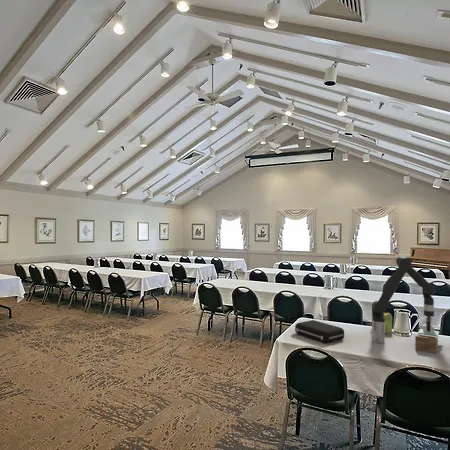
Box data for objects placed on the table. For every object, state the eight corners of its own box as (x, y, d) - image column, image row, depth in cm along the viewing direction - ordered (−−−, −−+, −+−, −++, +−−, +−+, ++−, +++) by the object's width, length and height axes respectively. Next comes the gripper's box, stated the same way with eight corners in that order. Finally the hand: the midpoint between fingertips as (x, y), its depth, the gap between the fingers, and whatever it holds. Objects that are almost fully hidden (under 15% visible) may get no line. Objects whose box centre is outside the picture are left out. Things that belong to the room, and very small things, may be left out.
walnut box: (436, 353, 266) (436, 339, 266) (415, 349, 274) (415, 336, 274) (437, 347, 279) (437, 334, 279) (417, 344, 287) (417, 331, 287)
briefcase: (350, 338, 300) (350, 327, 300) (326, 345, 282) (326, 332, 282) (317, 328, 330) (317, 317, 330) (293, 334, 312) (293, 322, 312)
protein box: (392, 333, 318) (392, 315, 318) (374, 331, 321) (374, 314, 321) (389, 329, 328) (389, 313, 328) (371, 328, 331) (371, 312, 331)
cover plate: (438, 336, 281) (438, 329, 281) (418, 333, 289) (418, 326, 289) (439, 332, 292) (439, 325, 293) (420, 329, 300) (420, 322, 300)
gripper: (433, 312, 283) (433, 333, 283) (434, 308, 294) (434, 329, 294) (422, 310, 287) (422, 331, 287) (424, 307, 299) (424, 328, 299)
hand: (428, 330), depth 291 cm, fingers closed on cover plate, 4 cm apart
